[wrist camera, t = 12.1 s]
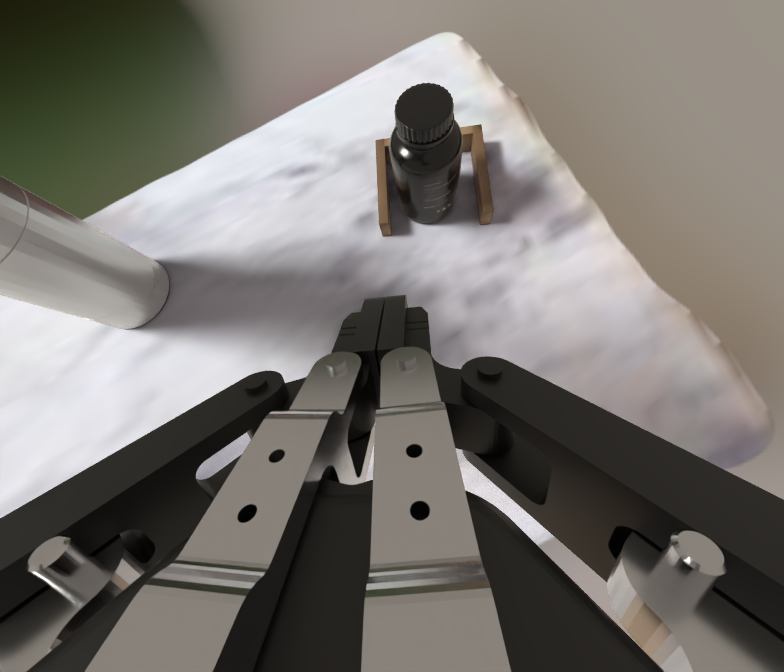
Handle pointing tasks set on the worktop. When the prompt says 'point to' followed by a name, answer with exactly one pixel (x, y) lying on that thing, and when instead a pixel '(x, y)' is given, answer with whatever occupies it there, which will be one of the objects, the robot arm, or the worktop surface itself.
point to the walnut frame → (470, 143)
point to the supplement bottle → (426, 153)
